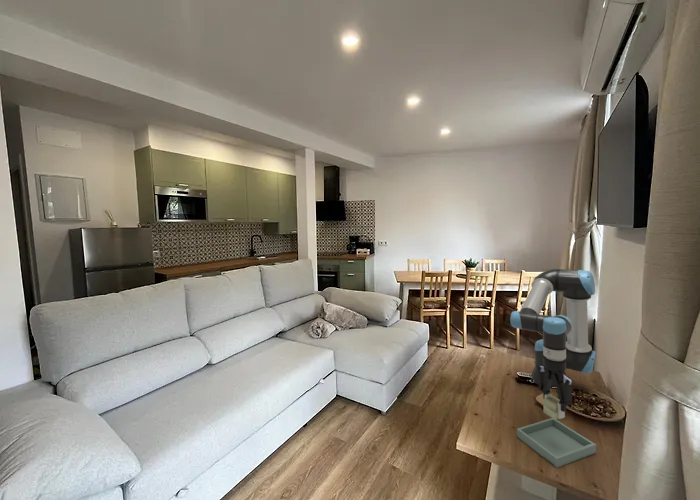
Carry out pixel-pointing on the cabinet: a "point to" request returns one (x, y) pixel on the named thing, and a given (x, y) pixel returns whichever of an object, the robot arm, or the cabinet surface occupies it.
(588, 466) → the cabinet surface
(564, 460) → the bin
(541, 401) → the pottery oil lamp
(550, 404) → the olive block
